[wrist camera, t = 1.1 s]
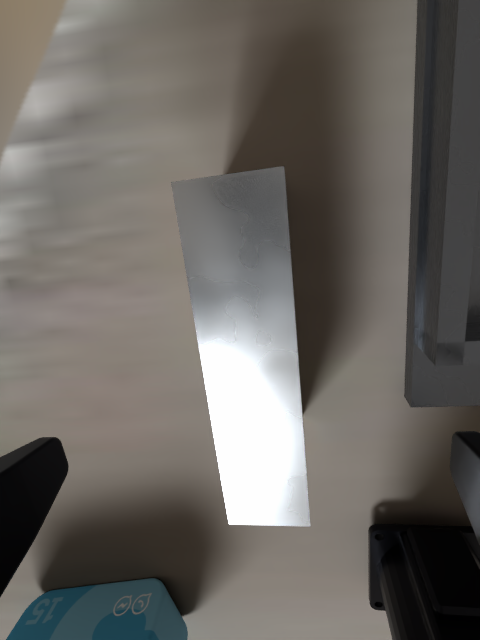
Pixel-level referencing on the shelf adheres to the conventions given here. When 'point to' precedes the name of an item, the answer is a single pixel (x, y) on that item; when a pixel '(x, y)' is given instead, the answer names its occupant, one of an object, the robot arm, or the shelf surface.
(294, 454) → the panel
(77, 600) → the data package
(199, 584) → the shelf surface
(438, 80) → the rack
